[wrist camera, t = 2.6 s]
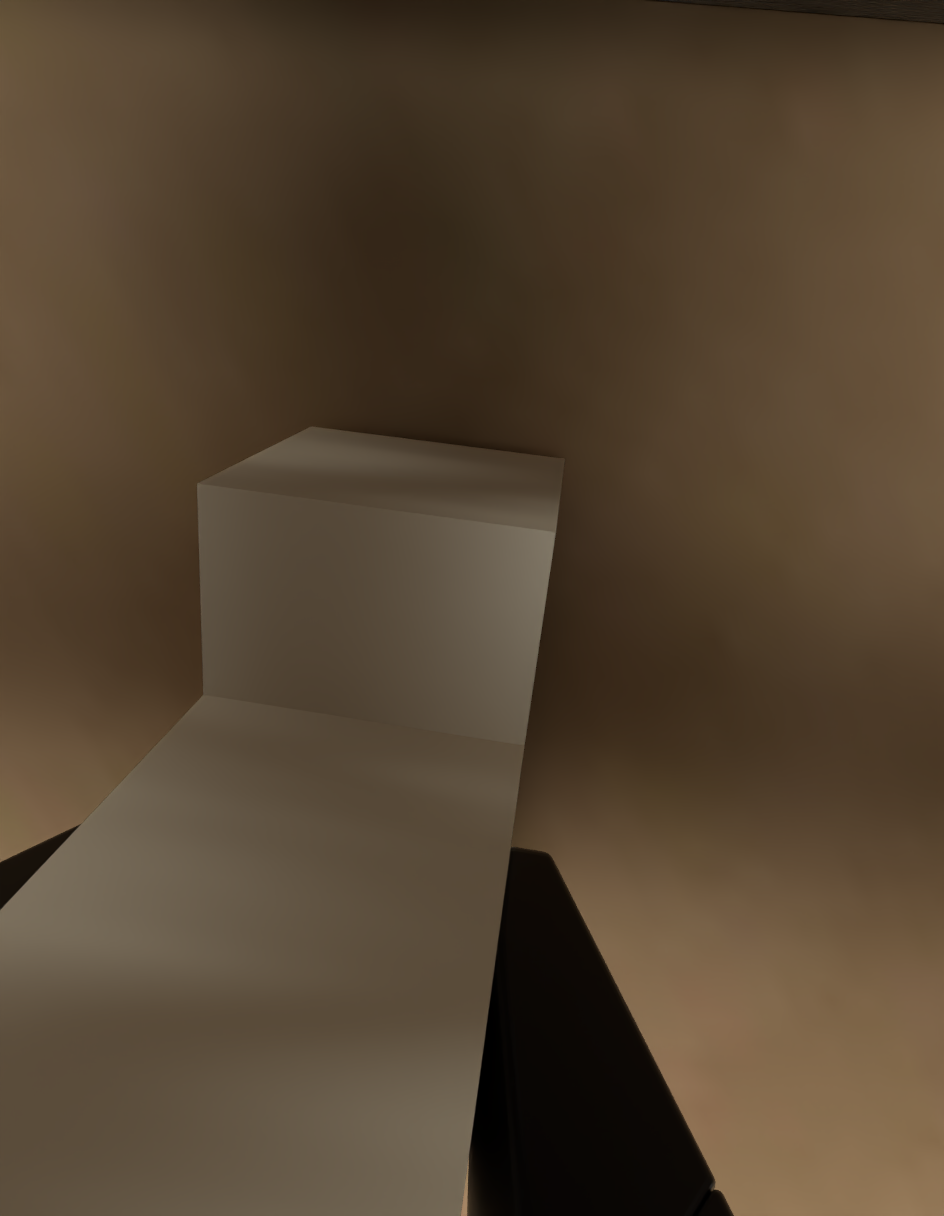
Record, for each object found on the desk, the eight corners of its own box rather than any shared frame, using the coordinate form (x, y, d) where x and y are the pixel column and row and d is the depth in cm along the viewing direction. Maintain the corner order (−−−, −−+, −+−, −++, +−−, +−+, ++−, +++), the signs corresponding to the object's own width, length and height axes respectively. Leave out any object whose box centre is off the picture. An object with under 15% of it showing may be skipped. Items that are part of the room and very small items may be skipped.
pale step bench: (565, 458, 9) (372, 2040, 1) (496, 928, 12) (285, 2416, 4) (310, 426, 9) (-1676, 1423, 1) (299, 892, 12) (-324, 2207, 4)
